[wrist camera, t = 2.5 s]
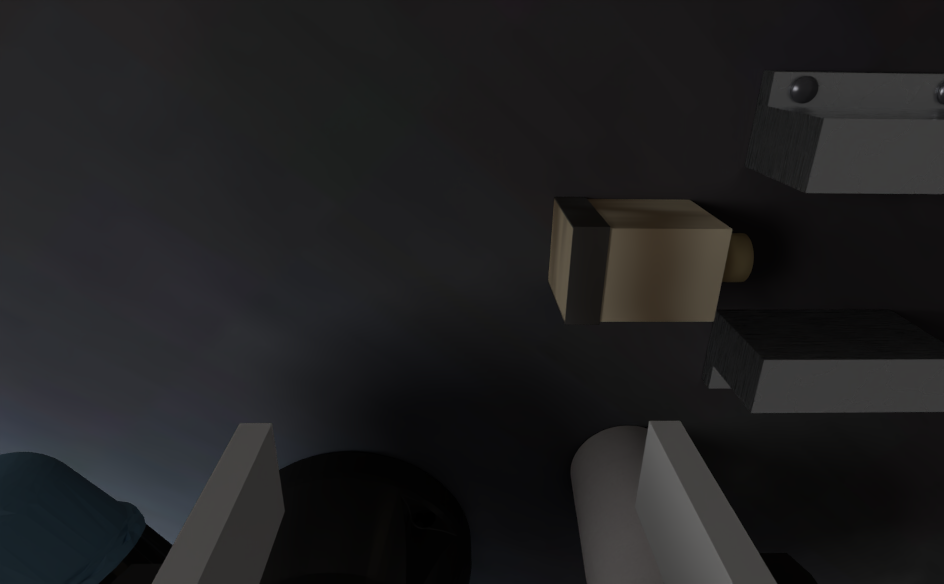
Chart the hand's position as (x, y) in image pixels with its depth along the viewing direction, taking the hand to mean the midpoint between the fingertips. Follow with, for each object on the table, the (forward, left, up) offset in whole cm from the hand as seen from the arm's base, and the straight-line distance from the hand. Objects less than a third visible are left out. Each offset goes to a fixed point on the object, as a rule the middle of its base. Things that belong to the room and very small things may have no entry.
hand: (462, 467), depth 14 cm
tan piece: (+9, 0, -18) cm, 20 cm away
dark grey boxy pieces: (+20, 0, -17) cm, 26 cm away
